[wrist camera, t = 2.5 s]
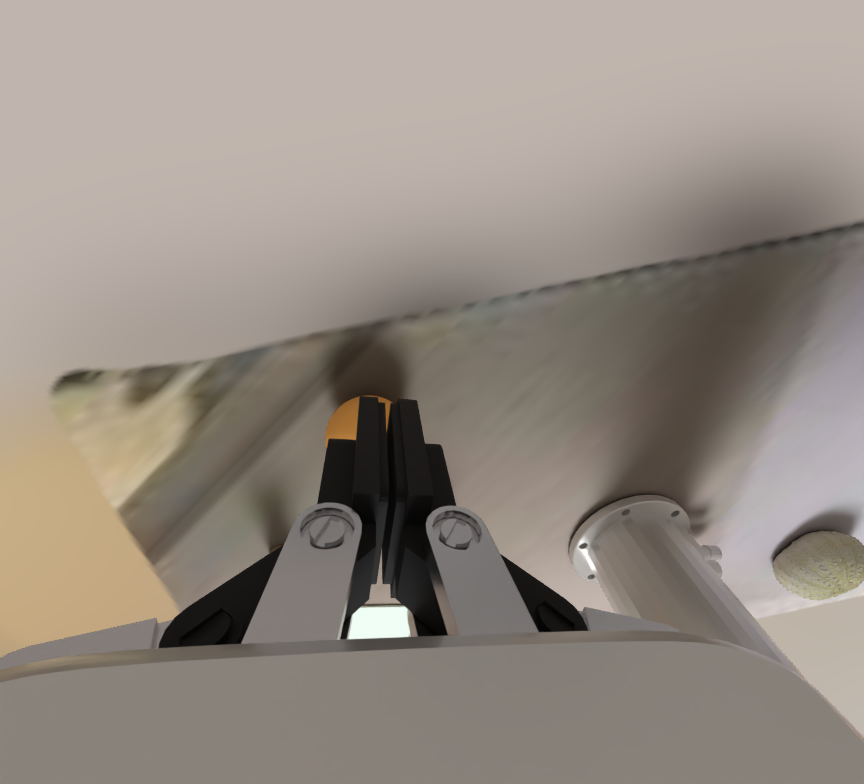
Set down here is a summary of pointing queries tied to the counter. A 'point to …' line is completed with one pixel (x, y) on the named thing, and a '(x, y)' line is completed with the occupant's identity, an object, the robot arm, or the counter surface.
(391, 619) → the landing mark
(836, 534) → the sea urchin shell
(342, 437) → the ball
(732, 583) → the counter surface
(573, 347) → the counter surface
